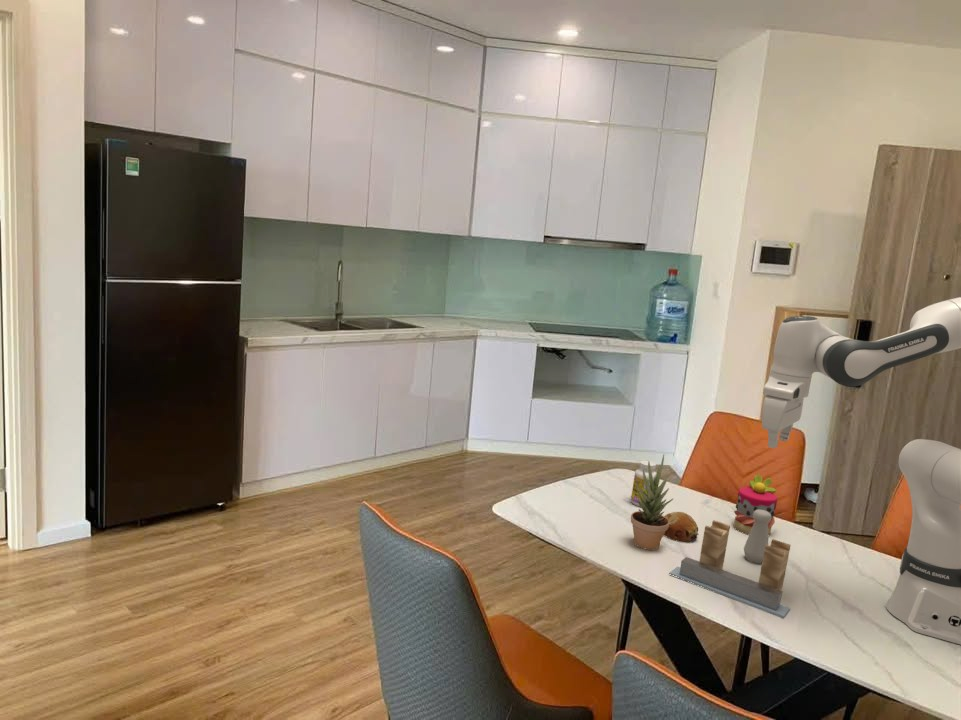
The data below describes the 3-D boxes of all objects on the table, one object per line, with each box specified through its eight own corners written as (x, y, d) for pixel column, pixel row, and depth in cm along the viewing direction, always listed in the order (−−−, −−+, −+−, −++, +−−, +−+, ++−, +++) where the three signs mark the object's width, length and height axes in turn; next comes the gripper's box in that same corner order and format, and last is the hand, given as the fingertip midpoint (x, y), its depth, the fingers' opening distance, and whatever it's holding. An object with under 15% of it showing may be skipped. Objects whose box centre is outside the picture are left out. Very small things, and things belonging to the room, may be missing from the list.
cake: (775, 539, 198) (785, 487, 195) (735, 533, 200) (744, 481, 197) (767, 525, 208) (776, 476, 206) (729, 519, 210) (737, 470, 207)
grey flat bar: (789, 610, 158) (790, 608, 158) (783, 618, 154) (784, 616, 154) (677, 568, 173) (677, 566, 173) (668, 574, 169) (669, 572, 169)
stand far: (722, 568, 176) (730, 525, 174) (714, 576, 171) (721, 531, 169) (706, 562, 178) (713, 520, 176) (697, 570, 174) (705, 526, 172)
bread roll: (685, 541, 200) (682, 512, 202) (708, 541, 190) (704, 510, 192) (654, 543, 196) (651, 513, 198) (676, 542, 187) (672, 511, 189)
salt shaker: (768, 566, 180) (777, 517, 178) (744, 562, 181) (752, 513, 179) (764, 557, 185) (772, 509, 183) (740, 553, 186) (749, 505, 184)
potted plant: (635, 552, 180) (649, 457, 176) (622, 536, 189) (635, 446, 185) (672, 553, 182) (687, 459, 177) (658, 537, 191) (672, 448, 187)
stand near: (782, 589, 168) (790, 544, 166) (774, 598, 163) (783, 552, 161) (764, 583, 170) (772, 539, 168) (756, 592, 165) (765, 546, 163)
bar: (779, 606, 159) (782, 591, 158) (776, 610, 156) (778, 595, 156) (684, 570, 171) (686, 556, 171) (679, 574, 169) (681, 560, 168)
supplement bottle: (627, 499, 218) (633, 458, 216) (648, 500, 219) (654, 459, 217) (634, 507, 211) (640, 465, 209) (656, 509, 212) (662, 467, 210)
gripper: (786, 378, 176) (776, 433, 178) (761, 387, 159) (750, 447, 162) (813, 384, 172) (803, 440, 174) (791, 393, 156) (780, 455, 158)
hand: (778, 443), depth 168 cm, fingers open, 8 cm apart
